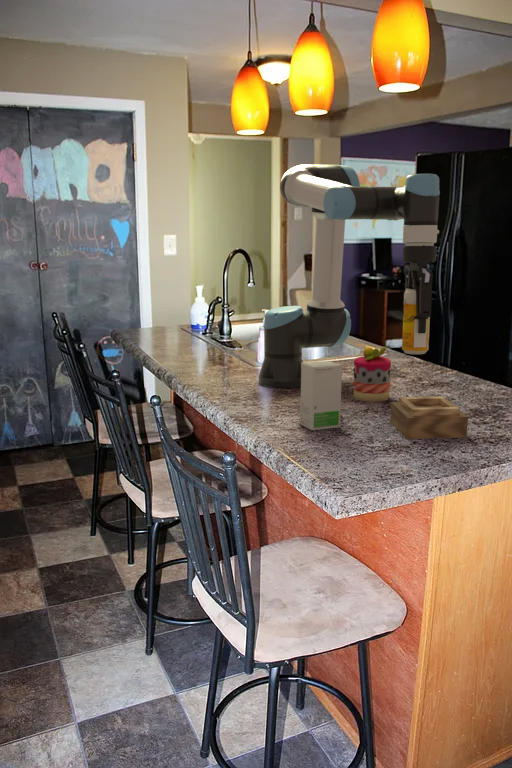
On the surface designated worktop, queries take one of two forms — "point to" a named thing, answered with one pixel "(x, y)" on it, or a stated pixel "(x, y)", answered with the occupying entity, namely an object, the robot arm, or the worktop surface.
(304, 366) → the skincare box
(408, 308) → the beer can
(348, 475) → the worktop surface
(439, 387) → the worktop surface
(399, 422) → the stand
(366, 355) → the cake
